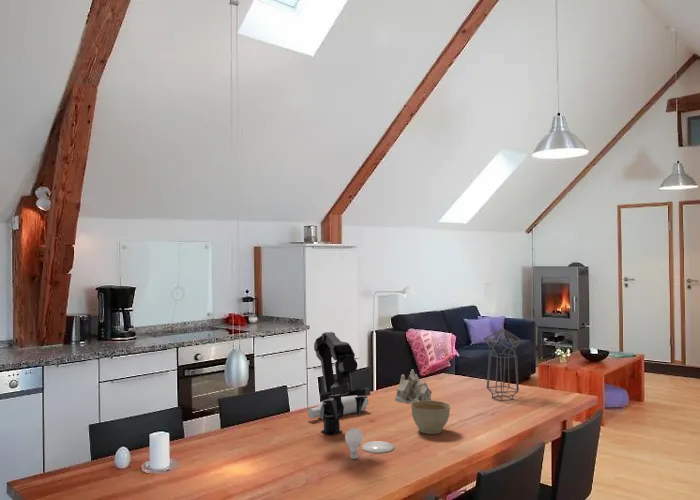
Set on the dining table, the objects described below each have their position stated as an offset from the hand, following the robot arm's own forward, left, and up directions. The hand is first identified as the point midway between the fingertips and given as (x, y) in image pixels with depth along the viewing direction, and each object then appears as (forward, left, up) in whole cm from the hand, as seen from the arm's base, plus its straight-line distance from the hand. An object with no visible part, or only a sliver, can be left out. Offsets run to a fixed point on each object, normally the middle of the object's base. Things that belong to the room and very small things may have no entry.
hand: (347, 417), depth 228 cm
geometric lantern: (-4, +110, -12) cm, 111 cm away
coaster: (+7, +9, -12) cm, 17 cm away
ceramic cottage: (-33, +74, -12) cm, 82 cm away
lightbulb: (+10, -6, -12) cm, 17 cm away
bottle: (-38, +28, -12) cm, 49 cm away
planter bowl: (+7, +40, -12) cm, 43 cm away
